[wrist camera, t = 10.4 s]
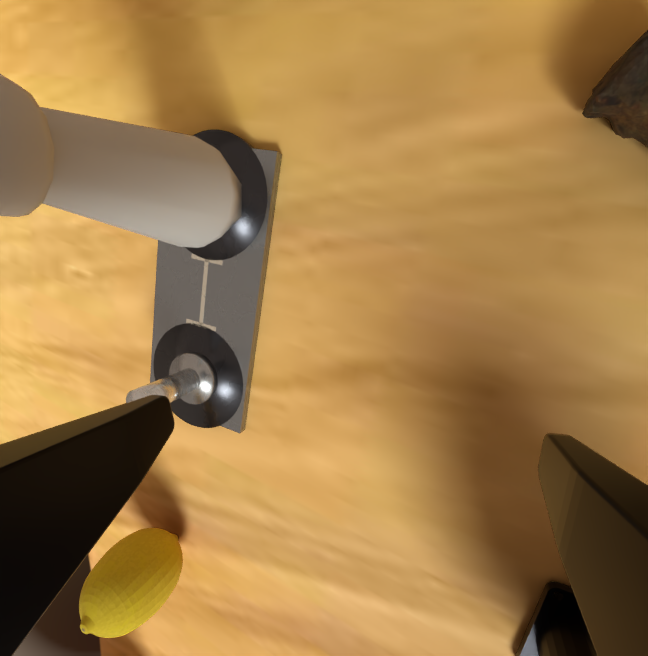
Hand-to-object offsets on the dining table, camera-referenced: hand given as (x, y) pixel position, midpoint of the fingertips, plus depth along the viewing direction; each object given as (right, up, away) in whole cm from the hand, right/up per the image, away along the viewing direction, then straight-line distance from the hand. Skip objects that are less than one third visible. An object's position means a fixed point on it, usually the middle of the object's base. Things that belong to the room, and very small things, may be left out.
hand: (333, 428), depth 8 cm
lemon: (-12, -15, +21) cm, 29 cm away
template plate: (-8, +5, +15) cm, 18 cm away
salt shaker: (-7, +10, +13) cm, 18 cm away
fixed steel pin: (-9, -1, +17) cm, 19 cm away
